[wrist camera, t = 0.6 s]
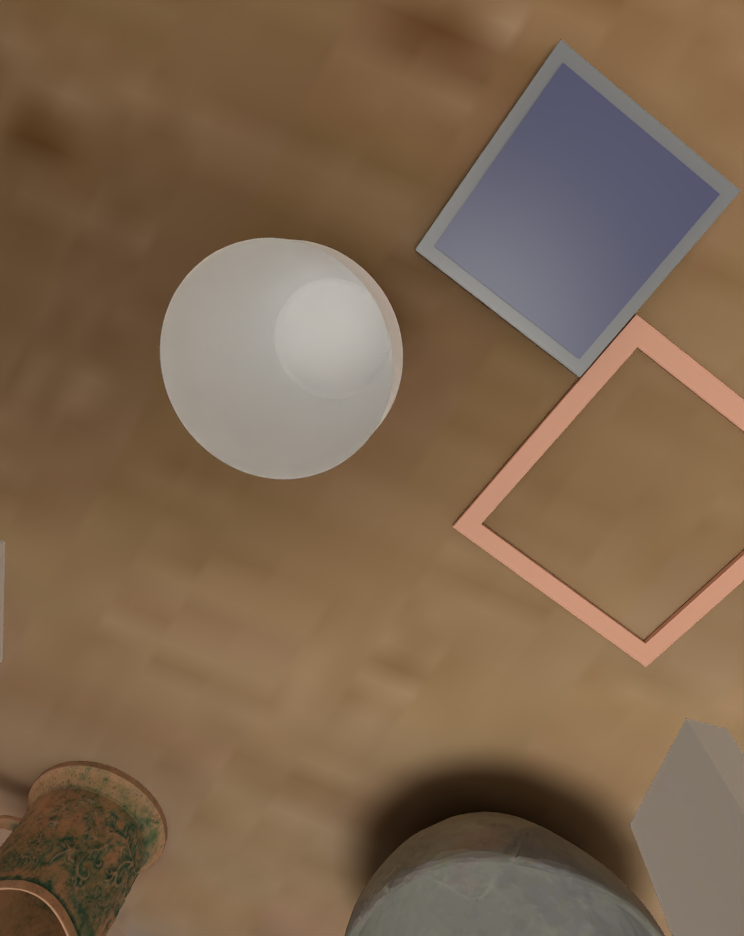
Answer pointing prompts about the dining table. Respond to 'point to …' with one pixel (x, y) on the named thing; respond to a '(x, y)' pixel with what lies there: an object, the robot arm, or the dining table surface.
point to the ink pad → (574, 212)
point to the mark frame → (549, 430)
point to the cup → (280, 356)
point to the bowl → (496, 886)
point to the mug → (76, 851)
